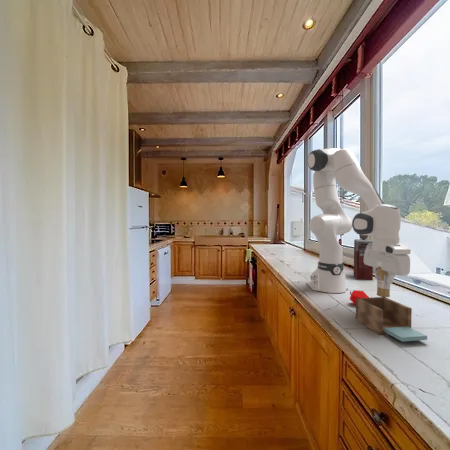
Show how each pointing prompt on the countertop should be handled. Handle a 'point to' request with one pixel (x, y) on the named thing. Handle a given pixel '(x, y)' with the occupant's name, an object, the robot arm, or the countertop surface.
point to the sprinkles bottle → (382, 282)
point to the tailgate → (405, 334)
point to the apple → (357, 295)
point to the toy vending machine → (361, 259)
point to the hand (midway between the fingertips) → (383, 281)
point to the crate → (382, 314)
